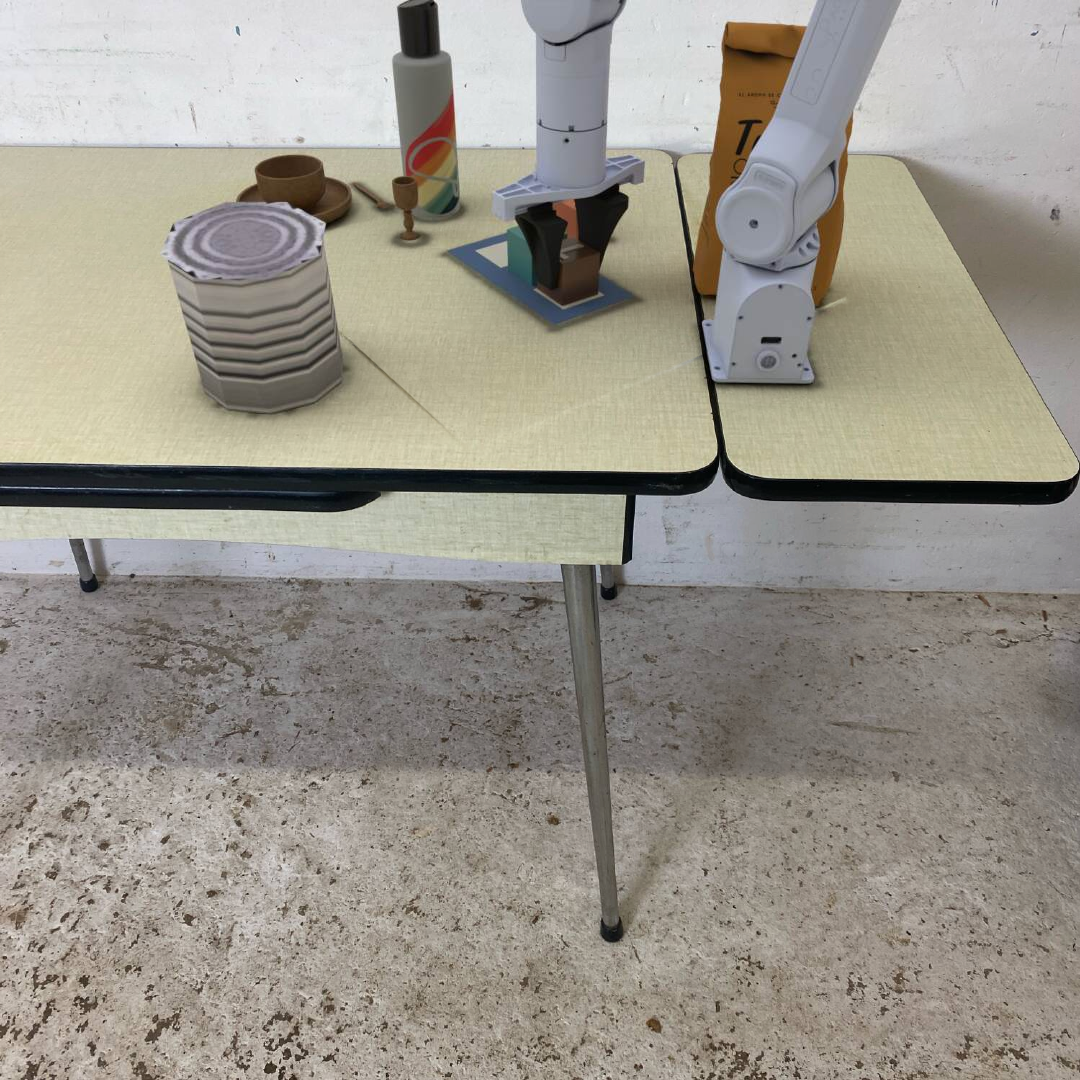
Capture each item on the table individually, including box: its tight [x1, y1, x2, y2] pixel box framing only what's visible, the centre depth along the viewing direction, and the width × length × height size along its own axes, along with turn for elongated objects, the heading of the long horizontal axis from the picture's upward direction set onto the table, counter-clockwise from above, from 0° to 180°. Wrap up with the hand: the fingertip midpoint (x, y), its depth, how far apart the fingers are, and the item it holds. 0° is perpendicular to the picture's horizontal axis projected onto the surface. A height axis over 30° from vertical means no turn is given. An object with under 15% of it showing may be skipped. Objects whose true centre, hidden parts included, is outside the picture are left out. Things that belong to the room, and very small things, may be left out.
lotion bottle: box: [391, 0, 461, 219], centre depth 94 cm, size 6×6×20 cm
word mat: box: [446, 232, 636, 326], centre depth 89 cm, size 18×9×1 cm, turn 35°
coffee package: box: [692, 20, 854, 308], centre depth 80 cm, size 10×12×22 cm
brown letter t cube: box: [537, 237, 600, 306], centre depth 84 cm, size 4×4×4 cm
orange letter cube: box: [553, 199, 578, 239], centre depth 94 cm, size 4×4×4 cm
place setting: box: [235, 154, 421, 242], centre depth 96 cm, size 18×20×6 cm
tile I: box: [506, 225, 567, 285], centre depth 87 cm, size 4×4×4 cm
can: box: [159, 201, 344, 415], centre depth 72 cm, size 11×11×12 cm
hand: (568, 278), depth 85 cm, fingers closed on brown letter t cube, 4 cm apart
